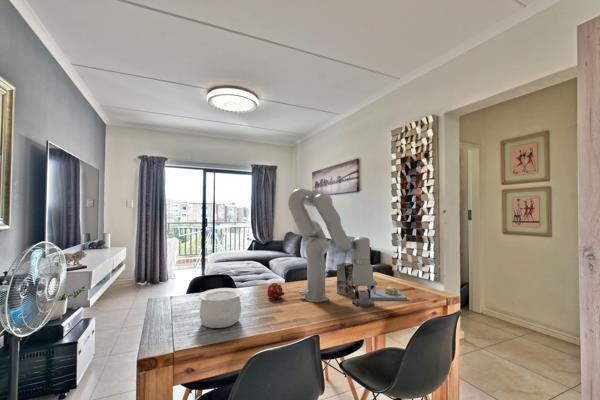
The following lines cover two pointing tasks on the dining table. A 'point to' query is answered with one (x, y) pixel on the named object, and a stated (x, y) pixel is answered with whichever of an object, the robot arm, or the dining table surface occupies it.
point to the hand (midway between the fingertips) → (362, 298)
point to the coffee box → (344, 278)
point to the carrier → (387, 294)
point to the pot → (220, 307)
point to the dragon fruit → (275, 291)
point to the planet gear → (363, 300)
